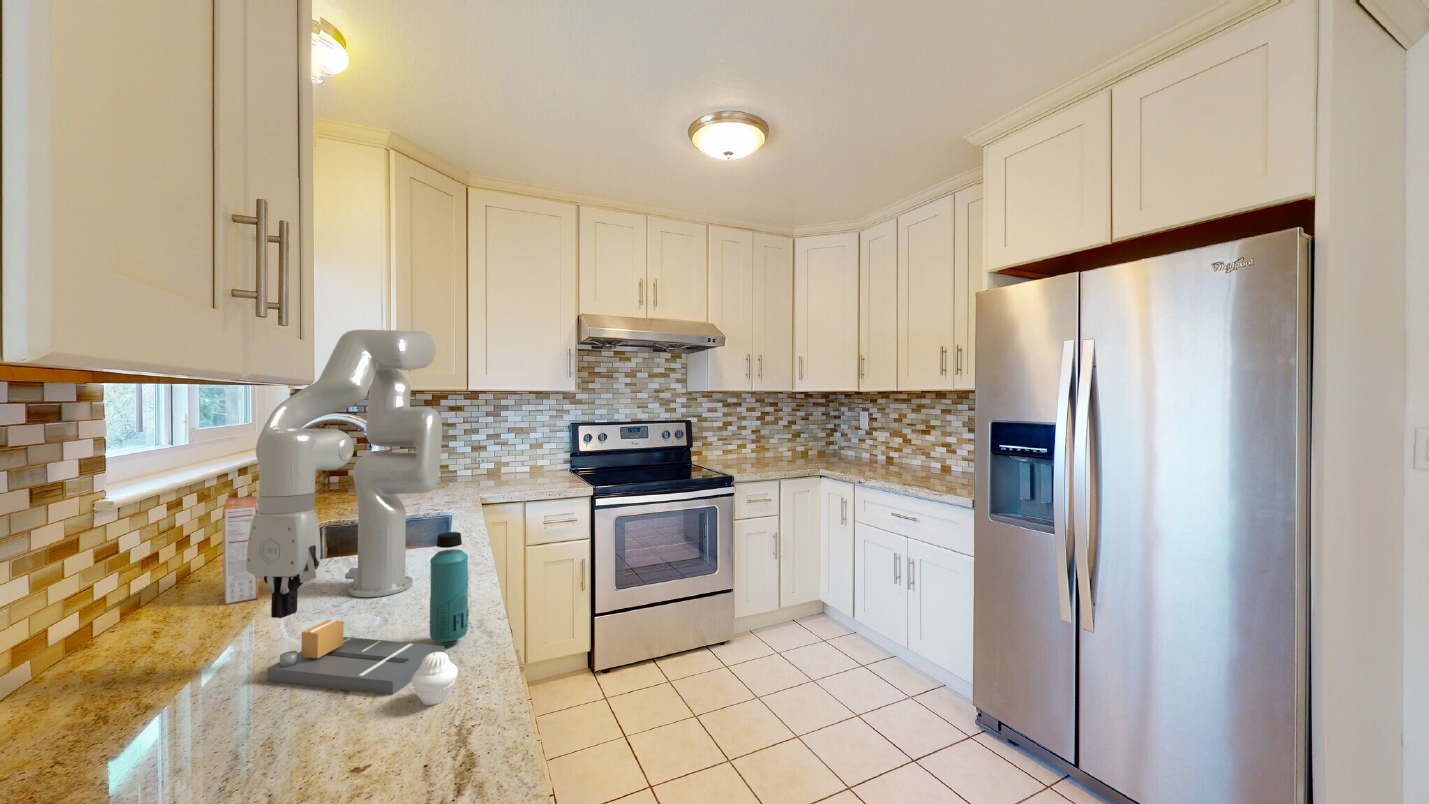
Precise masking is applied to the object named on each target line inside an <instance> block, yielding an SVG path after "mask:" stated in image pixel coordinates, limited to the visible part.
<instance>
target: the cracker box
mask: <svg viewBox="0 0 1429 804" xmlns="http://www.w3.org/2000/svg"><path fill="white" fill-rule="evenodd" d="M257 500H258V496H257V495H254V496H241V497H238V496H237V497H230V498H225V502H224V505H223V506H224V507H223V513H222V514H223V517H222V560H223V561H222V565H223V566H222V567H223V568H222V569H223V571H222V572H223V601H224V602H223V603H224V605H231V604H236V603H242V602H248V601H253V600H258V599H259V579H258V578H256V577H255V575H252V574H250V573H249V572H248V571H247V568H246V561H247V548H248V540H249V534H250V529H251V525H252V521H253V518H254V515H255V514H258V503H257Z"/></svg>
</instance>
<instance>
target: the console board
mask: <svg viewBox="0 0 1429 804" xmlns="http://www.w3.org/2000/svg"><path fill="white" fill-rule="evenodd" d="M433 652H434V653H435V652H444V653H445V645H438V644H436V645H435V644H427V643H425V644H424V643H414V642H405V641H393V640H383V639H373V638H371V639H370V638H360V637H352V636H351V637H349V636H343V645H342V646H340V647H338V648H336V649H334V650H332V651H331V652H329V653H327V654H325V655H323V656H321V657H319V658H309V657H302V650H301V651H300V652H298V651H296V650H290V651H286V652H282V653H281V654H280V655H279V662H277V663H275V664H273V665H271V666H269V667H267V672H266V673H267V676H266V678H267V681H268V682H273V683H275V682H276V683H283V684H293V685H294V684H295V685H299V686H300V685H303V686H310V687H311V686H312V687H320V688H329V689H339V690H346V691H347V690H349V691H355V692H365V693H373V694H374V693H375V694H384V695H390V696H391V695H394V694H396V693H397V692H398V691H400V690H402V689H403V688H404V687H406V686H407V685H408V684H409V683H412V682H411V680H412V677H413V675H414V674H415V672H416V671H417V670H418V669H419V667H420V666H421V665H422V660H423V659H424V658H425V657H426V656H427V655H429V654H430V653H433Z"/></svg>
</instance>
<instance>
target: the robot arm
mask: <svg viewBox="0 0 1429 804" xmlns="http://www.w3.org/2000/svg"><path fill="white" fill-rule="evenodd" d="M435 356H436V343H435V341H434V339H433V338H432V336H431V335H430V334H429V333H427V332H425V331H418V330H417V331H416V330H393V329H392V330H391V329H389V330H388V329H386V330H385V329H353V330H349V331H347V332H345V333H344V334H342V335H341V336H340V338H339V339H338V341H337V342H336V345H335V347H334V349H333V350H332V353H331V354H330V356H329V359H328V360H327V363H326V364H325V366H324V368H323V371H322V372H321V374H320V377H319V379H318V380H317V381H316V382H314V384H313V383H312V385H311V384H309V385H307V386H306V387H304V388H302V389H300V390H298V392H296V393H294V394H293V395H291V396H289V397H288V398H287V399H285V400H284V401H282V402H281V403H279V405H278V406H276V407H275V408H274V410H273V411H272V412H271V414H270V415H269V417H268V419H267V420H266V423H265V424H264V426H263V427H262V430H261V432H260V434H259V437H258V439H257V441H256V445H255V446H256V447H255V456H256V459H257V461H258V466H259V467H258V496H257V506H258V514H255V515H254V518H253V521H252V525H251V529H250V534H249V540H248V548H247V561H246V568H247V571H248V572H249V573H250V574H252V575H255V577H256V578H258V580H261V581H262V582H263V581H264V583H265V584H266V585H267V591H268V592H269V593H270V594H271V605H270V606H271V607H270V608H271V614H270V616H271V618H272V619H275V618H276V619H283V618H286V617H287V616H291V615H293V614H296V613H297V611H298V595H299V594H298V592H299V590H300V589H301V588H302V585H303V584H304V583H308V582H310V581H313V580H315V579H316V578H317V575H316V574H317V573H316V570H317V569H318V568H319V567H320V564H321V552H322V551H321V550H322V549H321V544H322V543H321V531H320V525H319V517H318V514H317V511H315V506H316V475H317V474H316V471H333V470H337V469H340V468H342V467H344V466H345V465H347V464H348V463H349V462H350V460H351V459H352V457H353V454H354V451H355V445H354V442H353V441H354V440H353V439H352V437H351V436H350V435H348V433H346V432H345V431H342V430H339V429H332V428H304V427H305V426H307V424H310V423H311V422H313V421H314V420H317V419H319V418H322V417H325V416H328V415H332V414H335V413H337V412H340V411H344V410H346V409H349V408H352V407H355V406H357V405H359V404H360V403H362V402H364V400H365V399H366V398H367V395H368V402H367V403H368V405H367V416H366V423H365V434H366V435H365V436H366V439H367V441H368V442H369V444H371V445H373V446H376V447H385V448H386V447H387V448H389V447H390V448H391V447H393V448H395V447H396V448H397V447H398V448H399V447H400V448H401V447H402V448H404V447H405V448H407V447H408V448H415V449H416V450H415V451H416V452H400V451H399V452H398V451H395V452H394V451H393V452H392V451H391V452H389V451H388V452H386V451H385V452H380V451H379V452H372V453H368V454H364V455H363V456H361V457H360V458H359V459H357V460H356V462H355V464H354V466H353V481H354V487H355V491H356V492H355V493H356V498H357V511H358V512H357V523H358V524H357V567H350V568H349V569H348V572H346V573H345V575H344V579H347V580H353V584H352V585H350V586H349V594H350V595H351V596H353V597H358V598H375V597H377V598H378V597H385V596H391V595H394V594H398V593H400V592H403V591H406V590H408V589H410V588H411V587H412V585H413V581H414V580H413V578H412V577H410V576H409V575H406V557H407V555H406V554H407V553H406V549H407V548H406V547H407V546H406V544H407V542H406V541H407V539H406V538H407V536H406V535H407V530H406V529H407V512H406V511H407V510H406V507H405V506H404V504H403V502H402V500H401V499H400V498H399V497H398V495H399V494H425V493H429V492H432V491H433V490H434V489H435V488H436V487H437V485H438V482H439V478H440V467H441V457H442V454H441V453H442V440H443V424H442V418H441V415H440V414H439V412H438V411H437V410H436V409H434V408H431V407H427V406H411V393H412V390H411V389H412V388H411V385H410V383H409V381H408V380H407V378H406V377H405V376H404V375H403V373H402V372H401V371H407V370H408V371H410V370H411V371H412V370H419V369H425V368H427V367H429V366H430V365H431V364H432V363H433V361H434V359H435ZM405 589H406V590H405Z"/></svg>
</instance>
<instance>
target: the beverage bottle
mask: <svg viewBox="0 0 1429 804" xmlns="http://www.w3.org/2000/svg"><path fill="white" fill-rule="evenodd" d="M436 538H437V540H436V547H437V548H443V549H444V550H441V551H440V550H439V551H438V552H437V553H436V554H434V555H433V556H432V557H431V558H430V562H429V563H430V595H429V596H430V597H429V612H428V613H429V623H428V625H429V628H428V629H429V636H430V638H431V640H432V641H434V642H438V643H439V642H440V643H444V642H445V643H446V642H452V641H456V640H458V639H462V638H463V637H465V636H466V635H467V633H468V630H469V619H470V618H469V610H470V609H469V601H468V600H469V597H468V595H469V591H468V590H469V579H470V577H469V576H470V575H469V569H468V568H469V565H468V559H469V556H468V554H467V553H466V552H465V551H464V550H461V549H458V548H457V549H456V547H459V546H461V545H462V544H463V543H462V533H461V532H458V531H447V532H442V533H439V534H438V535H437V537H436ZM454 547H455V548H454ZM446 548H447V549H446ZM448 548H451V549H448ZM452 548H453V549H452Z"/></svg>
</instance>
